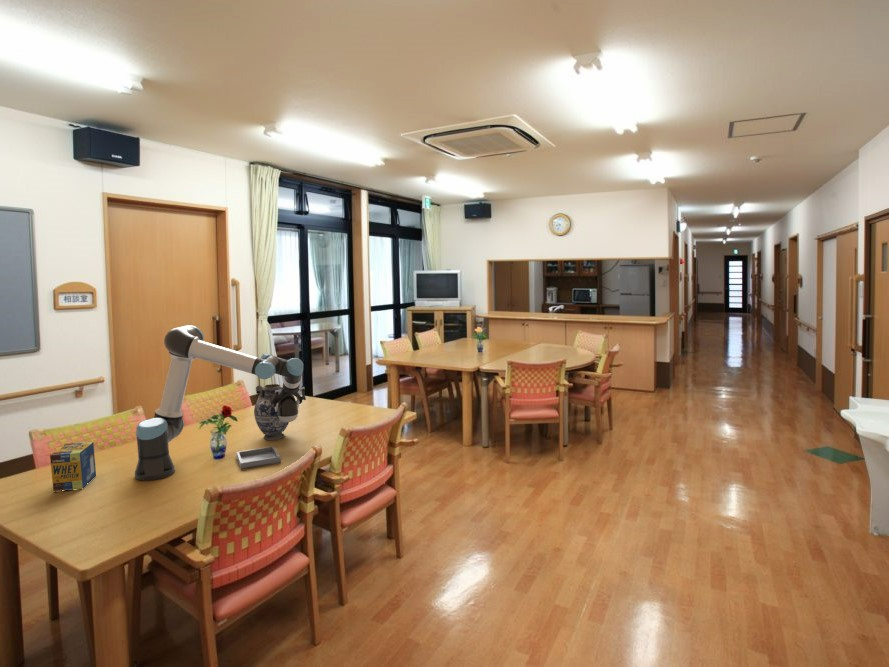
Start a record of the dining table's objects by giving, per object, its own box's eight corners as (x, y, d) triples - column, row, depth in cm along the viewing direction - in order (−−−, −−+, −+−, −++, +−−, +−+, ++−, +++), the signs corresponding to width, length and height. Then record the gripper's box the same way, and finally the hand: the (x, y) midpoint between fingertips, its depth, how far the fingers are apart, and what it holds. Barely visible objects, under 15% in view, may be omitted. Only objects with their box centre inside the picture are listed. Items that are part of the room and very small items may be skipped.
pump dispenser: (303, 419, 265) (302, 389, 263) (289, 424, 256) (287, 394, 254) (287, 417, 269) (286, 388, 268) (273, 422, 260) (271, 392, 258)
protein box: (52, 493, 209) (49, 455, 207) (69, 478, 223) (65, 443, 222) (83, 490, 211) (79, 452, 210) (97, 475, 226) (94, 441, 224)
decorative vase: (245, 440, 273) (243, 387, 270) (269, 430, 290) (268, 380, 287) (278, 444, 265) (276, 390, 262) (301, 434, 282) (300, 383, 279)
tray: (280, 463, 239) (280, 456, 239) (241, 469, 232) (240, 463, 231) (274, 452, 254) (273, 446, 254) (236, 458, 247) (236, 451, 246)
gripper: (268, 391, 242) (264, 417, 257) (316, 386, 252) (310, 411, 268) (266, 378, 246) (262, 404, 261) (313, 374, 256) (307, 399, 272)
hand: (286, 407), depth 265 cm, fingers closed on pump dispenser, 10 cm apart
